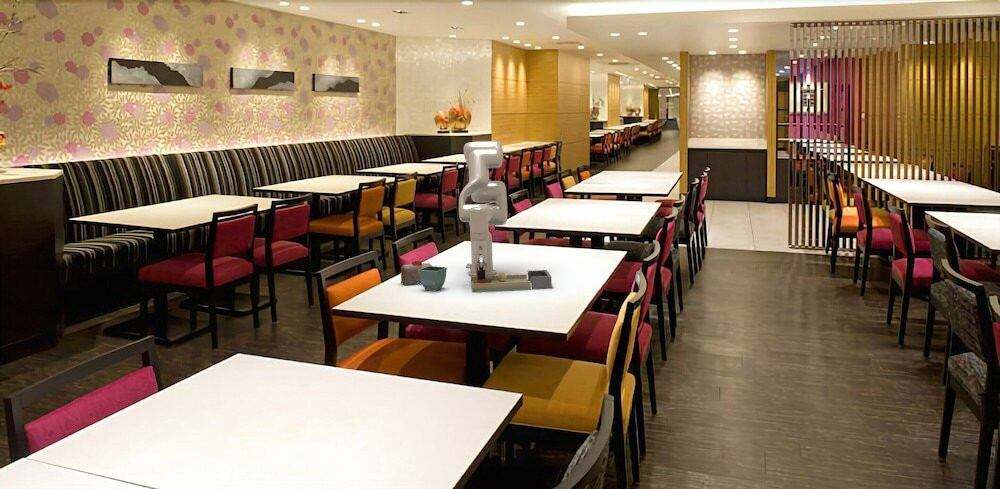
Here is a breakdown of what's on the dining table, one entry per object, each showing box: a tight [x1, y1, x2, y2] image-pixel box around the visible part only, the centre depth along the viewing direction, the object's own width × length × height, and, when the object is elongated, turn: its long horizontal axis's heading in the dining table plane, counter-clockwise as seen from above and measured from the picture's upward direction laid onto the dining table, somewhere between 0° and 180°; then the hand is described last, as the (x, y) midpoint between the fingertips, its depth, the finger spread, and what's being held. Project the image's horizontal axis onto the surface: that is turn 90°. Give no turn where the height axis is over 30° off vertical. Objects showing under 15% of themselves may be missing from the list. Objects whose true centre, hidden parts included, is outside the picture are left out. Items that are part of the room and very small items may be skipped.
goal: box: [527, 269, 553, 290], centre depth 318 cm, size 8×13×5 cm, turn 4°
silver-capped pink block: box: [474, 264, 492, 284], centre depth 316 cm, size 7×4×8 cm, turn 94°
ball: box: [497, 272, 507, 282], centre depth 316 cm, size 4×4×4 cm
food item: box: [400, 260, 433, 286], centre depth 328 cm, size 14×8×10 cm, turn 114°
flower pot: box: [419, 265, 448, 292], centre depth 315 cm, size 9×9×9 cm
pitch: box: [470, 273, 532, 293], centre depth 317 cm, size 24×15×3 cm, turn 94°
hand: (480, 277), depth 316 cm, fingers open, 8 cm apart
